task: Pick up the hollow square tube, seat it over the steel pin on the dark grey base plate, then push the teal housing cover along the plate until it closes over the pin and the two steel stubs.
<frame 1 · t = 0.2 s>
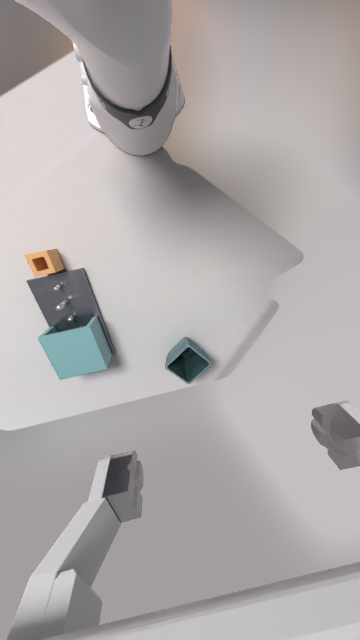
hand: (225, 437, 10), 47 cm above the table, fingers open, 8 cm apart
hollow square tube: (51, 261, 50), on the table
housing cover: (78, 347, 54), point 5 cm above the table, slide at 0.0 cm
housing base: (76, 318, 56), on the table
flower pot: (184, 347, 63), on the table
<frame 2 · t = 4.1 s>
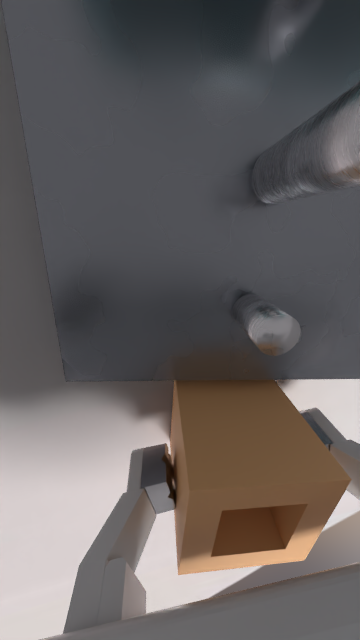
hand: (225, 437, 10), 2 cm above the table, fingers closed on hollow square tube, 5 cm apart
hollow square tube: (215, 407, 11), on the table, touching gripper
when the fingers open (4 cm above the table, at t = 8.4 s): hollow square tube stays where it is, resting on housing base.
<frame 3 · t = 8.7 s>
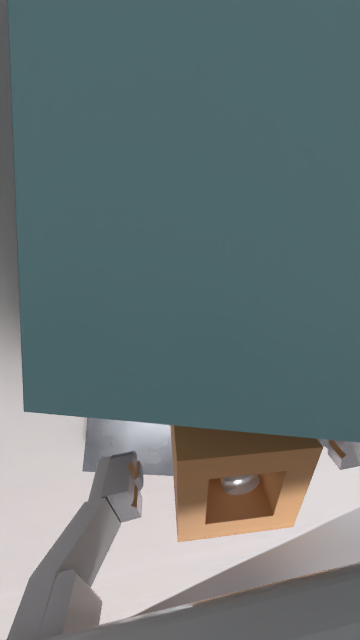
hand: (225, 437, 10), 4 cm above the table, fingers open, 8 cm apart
hollow square tube: (210, 395, 12), point 1 cm above the table, touching housing base
housing base: (232, 304, 12), on the table
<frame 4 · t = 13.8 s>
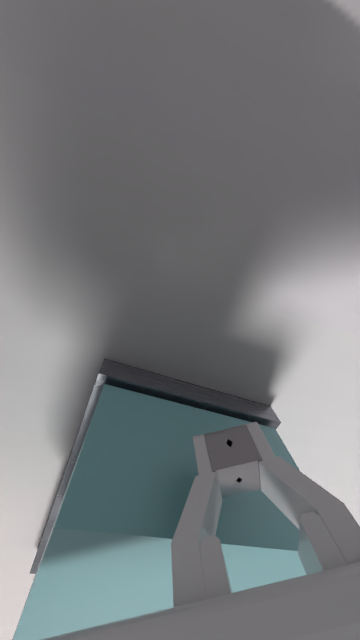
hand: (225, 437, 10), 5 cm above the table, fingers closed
housing cover: (165, 524, 13), point 5 cm above the table, slide at 0.4 cm, touching gripper
housing base: (139, 487, 19), on the table
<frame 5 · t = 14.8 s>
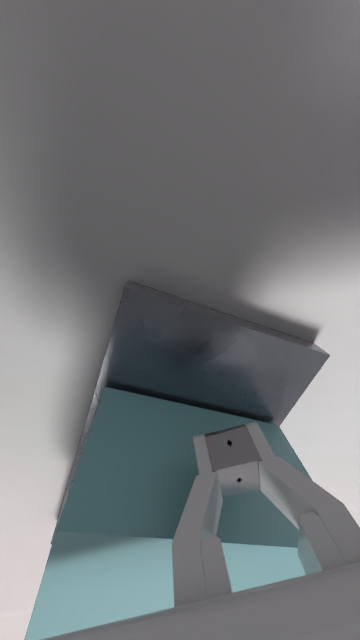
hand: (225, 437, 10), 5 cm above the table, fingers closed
housing cover: (170, 523, 13), point 5 cm above the table, slide at 5.9 cm, touching gripper
housing base: (167, 446, 17), on the table
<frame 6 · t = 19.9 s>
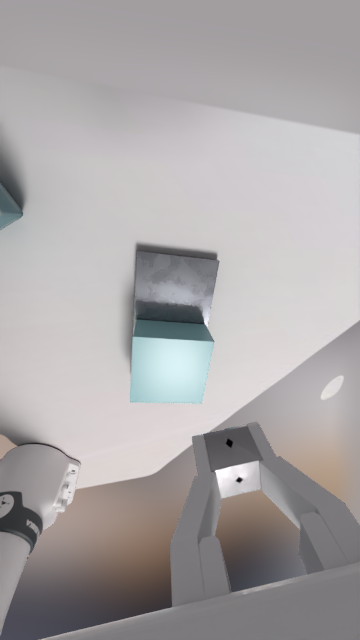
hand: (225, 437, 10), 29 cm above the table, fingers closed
housing cover: (169, 361, 36), point 5 cm above the table, slide at 11.0 cm
housing base: (170, 323, 39), on the table
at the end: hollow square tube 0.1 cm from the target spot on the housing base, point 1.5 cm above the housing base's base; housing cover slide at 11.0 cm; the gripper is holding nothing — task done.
